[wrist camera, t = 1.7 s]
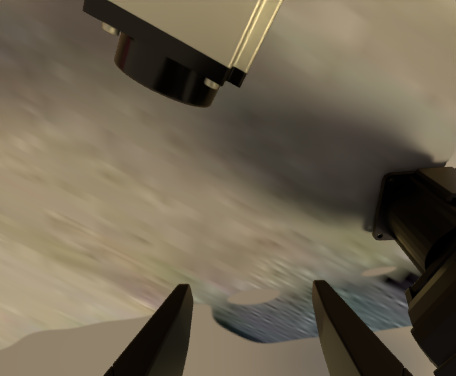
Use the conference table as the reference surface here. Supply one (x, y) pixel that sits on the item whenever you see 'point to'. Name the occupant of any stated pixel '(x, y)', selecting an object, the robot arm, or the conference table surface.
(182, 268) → the conference table surface
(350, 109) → the conference table surface
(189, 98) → the pneumatic valve
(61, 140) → the conference table surface
